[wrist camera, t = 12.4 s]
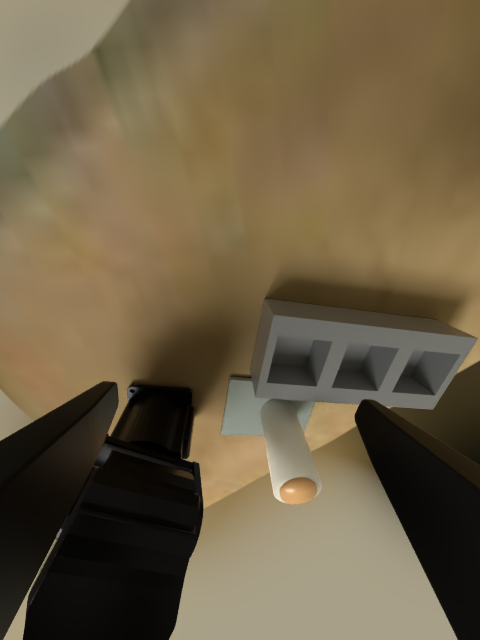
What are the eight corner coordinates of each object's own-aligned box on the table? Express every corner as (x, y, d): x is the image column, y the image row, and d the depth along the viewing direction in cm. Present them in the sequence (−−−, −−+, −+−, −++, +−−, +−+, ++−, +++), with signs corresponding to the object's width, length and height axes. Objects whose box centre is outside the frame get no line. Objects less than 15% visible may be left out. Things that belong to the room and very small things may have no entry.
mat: (221, 430, 27) (221, 434, 26) (229, 376, 24) (230, 379, 23) (300, 434, 28) (301, 438, 27) (318, 383, 25) (320, 386, 24)
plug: (257, 424, 26) (269, 507, 18) (263, 397, 24) (279, 476, 17) (290, 425, 26) (316, 508, 19) (298, 400, 25) (329, 478, 17)
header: (250, 370, 23) (255, 397, 20) (264, 298, 20) (273, 314, 17) (402, 382, 26) (432, 409, 22) (436, 319, 23) (478, 338, 19)
